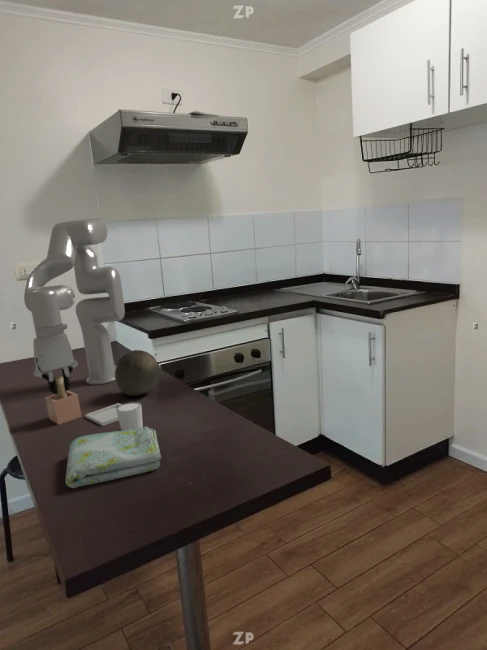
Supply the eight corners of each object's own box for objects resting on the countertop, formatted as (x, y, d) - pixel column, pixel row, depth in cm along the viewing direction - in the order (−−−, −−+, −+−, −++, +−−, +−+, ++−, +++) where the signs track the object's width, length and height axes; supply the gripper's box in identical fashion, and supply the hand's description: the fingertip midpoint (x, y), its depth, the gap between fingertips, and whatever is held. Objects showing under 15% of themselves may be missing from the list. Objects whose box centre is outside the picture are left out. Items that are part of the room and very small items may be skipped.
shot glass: (149, 426, 134) (146, 402, 132) (136, 436, 127) (132, 412, 126) (128, 425, 136) (124, 401, 135) (114, 435, 130) (110, 411, 128)
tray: (119, 407, 151) (118, 403, 151) (137, 415, 143) (136, 410, 143) (86, 419, 144) (85, 414, 144) (103, 427, 136) (102, 422, 136)
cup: (72, 413, 150) (68, 390, 149) (82, 418, 145) (77, 394, 144) (49, 421, 146) (45, 397, 144) (58, 426, 140) (54, 401, 139)
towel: (165, 469, 108) (162, 448, 107) (66, 492, 103) (62, 470, 102) (156, 439, 125) (154, 420, 125) (71, 457, 120) (68, 438, 119)
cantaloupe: (130, 404, 153) (123, 359, 150) (112, 395, 164) (105, 353, 161) (169, 392, 161) (163, 349, 158) (148, 384, 172) (142, 344, 169)
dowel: (68, 415, 147) (60, 374, 145) (72, 417, 145) (64, 376, 143) (58, 418, 145) (50, 377, 143) (62, 420, 143) (54, 379, 141)
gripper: (71, 325, 148) (81, 381, 152) (16, 336, 138) (28, 397, 141) (81, 326, 143) (91, 385, 146) (25, 339, 132) (37, 402, 136)
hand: (60, 390), depth 144 cm, fingers closed on dowel, 3 cm apart
